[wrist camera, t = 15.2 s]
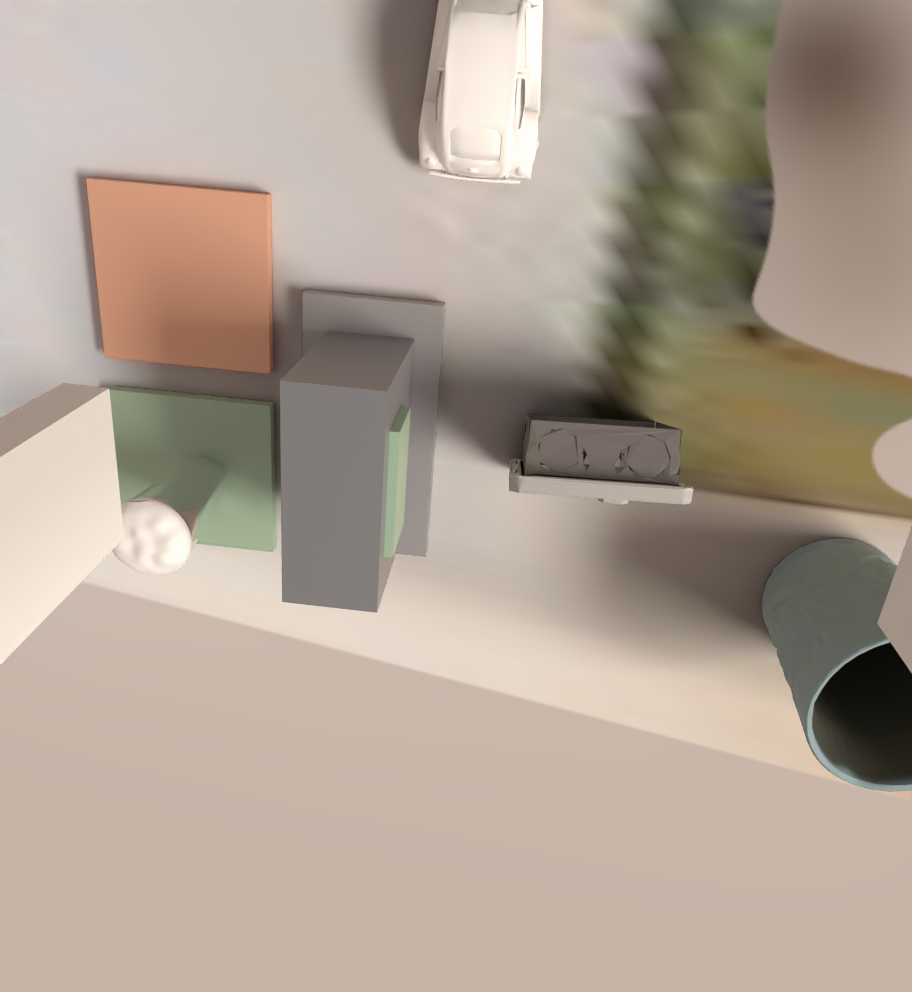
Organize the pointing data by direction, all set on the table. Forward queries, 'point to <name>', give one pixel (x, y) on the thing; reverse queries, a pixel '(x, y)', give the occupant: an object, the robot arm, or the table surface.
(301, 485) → the block
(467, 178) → the car
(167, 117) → the table surface
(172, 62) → the table surface
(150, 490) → the milkshake
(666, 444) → the electrical switch
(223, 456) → the pad sage
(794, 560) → the teal cup
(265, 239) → the pad terracotta
